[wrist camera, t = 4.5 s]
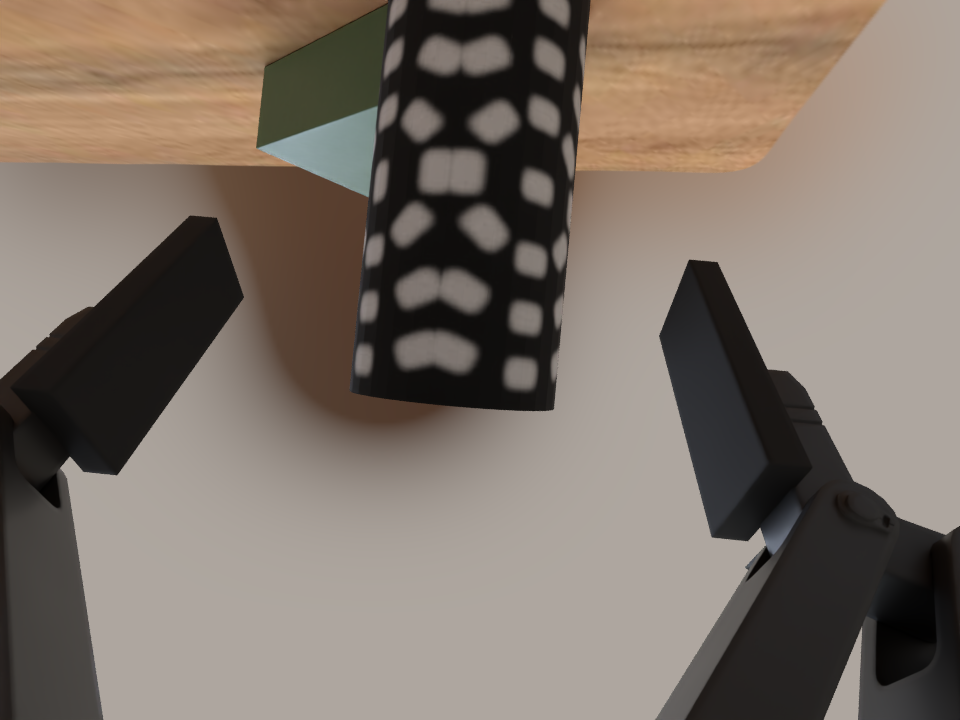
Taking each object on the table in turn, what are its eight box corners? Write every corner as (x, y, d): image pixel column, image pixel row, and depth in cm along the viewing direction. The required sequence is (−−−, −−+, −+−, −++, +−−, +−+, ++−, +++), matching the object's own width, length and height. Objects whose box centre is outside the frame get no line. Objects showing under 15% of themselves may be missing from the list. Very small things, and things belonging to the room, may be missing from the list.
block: (395, 142, 43) (388, 206, 43) (264, 67, 33) (255, 148, 33) (512, 110, 36) (505, 186, 36) (389, 1, 26) (379, 105, 26)
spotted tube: (640, -77, 20) (597, 413, 20) (508, 24, 27) (473, 394, 27) (477, -242, 15) (415, 406, 15) (364, -68, 22) (319, 385, 22)
